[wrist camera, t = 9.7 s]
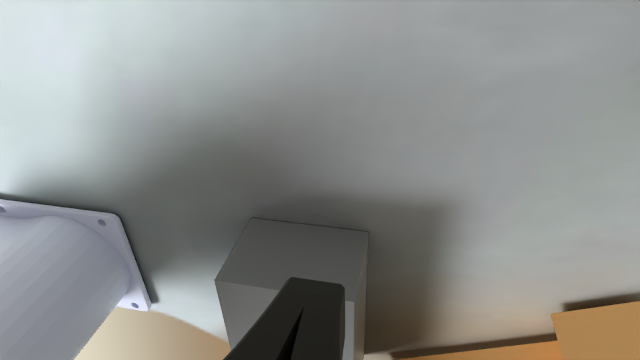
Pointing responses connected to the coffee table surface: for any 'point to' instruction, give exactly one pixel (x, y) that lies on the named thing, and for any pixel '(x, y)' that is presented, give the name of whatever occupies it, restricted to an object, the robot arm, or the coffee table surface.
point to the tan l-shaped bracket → (573, 338)
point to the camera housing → (293, 273)
